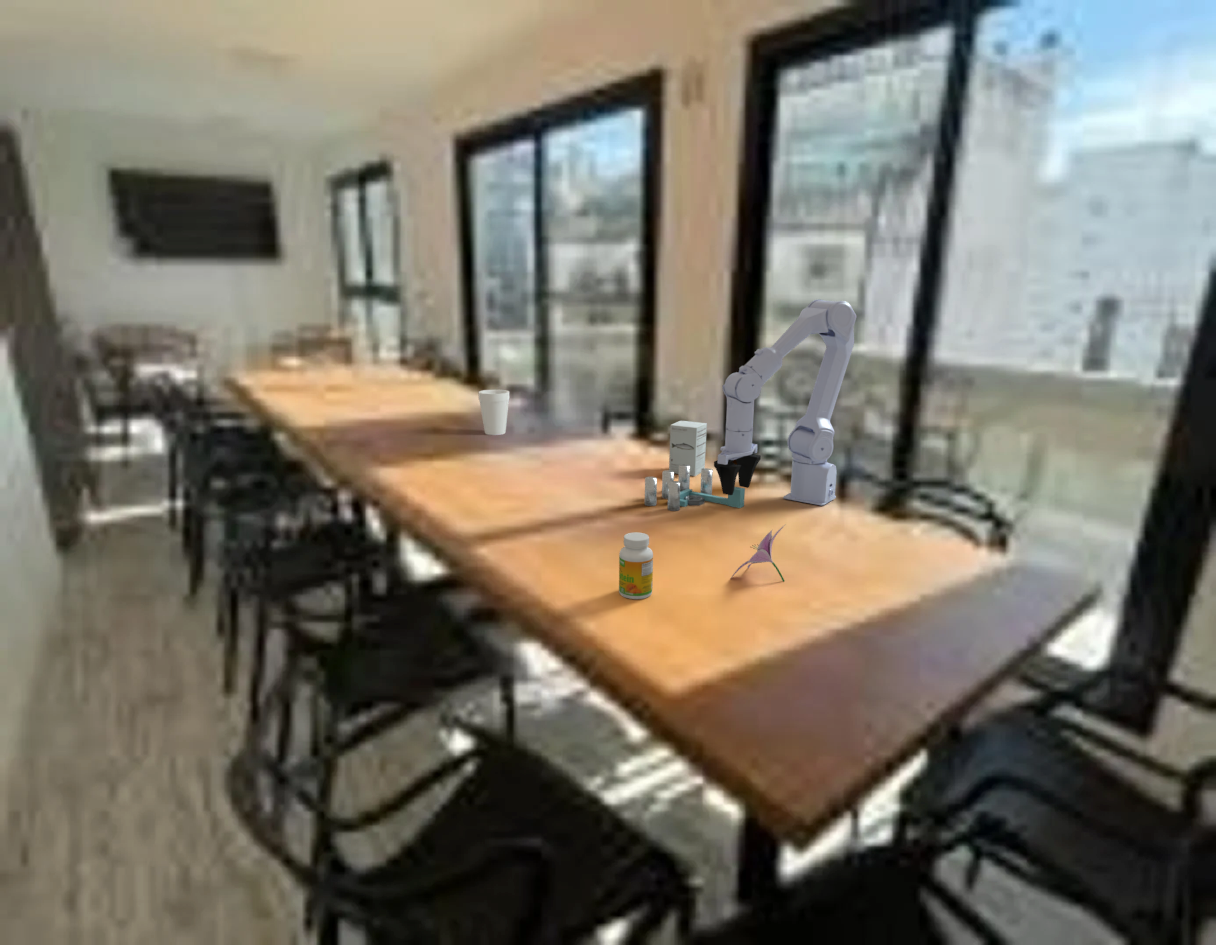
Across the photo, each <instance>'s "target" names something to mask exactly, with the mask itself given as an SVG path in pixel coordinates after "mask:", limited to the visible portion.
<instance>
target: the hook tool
mask: <svg viewBox="0 0 1216 945" xmlns="http://www.w3.org/2000/svg"><path fill="white" fill-rule="evenodd" d="M745 493H746V487H741V486H739V487H738V486H735V487H734V492H733V495H727V497H724V496H719V495H713V494H712V495H709V494H704V493H700V492H699V491H693V489H692V488H689V489H686V490H683V491H681V492H680V507H683V508H686V507H688V505H687V503H688V500H684V497H687V496H689V495H695V496H701V497H703V498H705V502H709V503H715V504H719V505H720V504H721V505H726V506H727V507H732V508H737V509H741V508H743V507H745Z"/></svg>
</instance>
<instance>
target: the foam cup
mask: <svg viewBox="0 0 1216 945" xmlns="http://www.w3.org/2000/svg"><path fill="white" fill-rule="evenodd" d="M510 398H511V397H510V390H505V389H499V388H498V389H483V390H480V391H478V400H479V406H480V412H481V419H482V423H483V431H484V434H485V435H487V436H499V435H501V436H502V435H504V434H506V431H507V424H508V423H507V421H508V413H509V412H508V411H509V402H510V401H509V400H510Z"/></svg>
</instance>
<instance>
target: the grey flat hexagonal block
mask: <svg viewBox="0 0 1216 945" xmlns="http://www.w3.org/2000/svg"><path fill="white" fill-rule="evenodd" d="M684 500H688V503H687V506H694V507H695V506H697V507H698V506H699V507H700V506H701V505H704V504H706V503H705V502H706V501H705V498H703V497H701V496H695V495H689V496H687V497H684Z"/></svg>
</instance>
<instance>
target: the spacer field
mask: <svg viewBox="0 0 1216 945" xmlns="http://www.w3.org/2000/svg"><path fill="white" fill-rule="evenodd" d="M713 472H714V470H713V469H712V468H708V467H707V468H706V467H705V468H703V469H701V473H700V492H699V493H704V494H709V495H713ZM661 476H662V481H661V485H662V486H661V498H662V499H665V500H667V510H668V511H670V512H678V511H680V508H681V506H680V492H681V491H683V490H686V489H690V481H691V476H690V465H686V464H682V465H679V474H678V481H677V480H675V473H674V471H670V470H669V469H667V470H666V469H665V470H663V471H662V475H661ZM657 490H658V478H657V477H655V476H646V477H644V505H645V506H646V507H647V506H648V507H655V506H657V495H658V494H657V492H658V491H657Z"/></svg>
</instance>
